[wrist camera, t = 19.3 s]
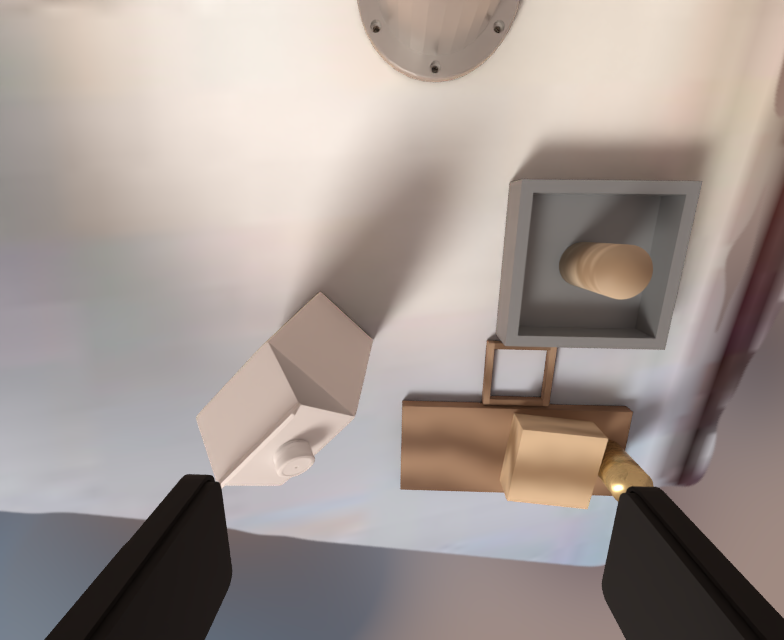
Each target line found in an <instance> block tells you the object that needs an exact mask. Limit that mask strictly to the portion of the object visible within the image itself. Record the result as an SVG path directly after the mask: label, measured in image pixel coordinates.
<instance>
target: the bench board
mask: <svg viewBox="0 0 784 640" xmlns="http://www.w3.org/2000/svg"><path fill="white" fill-rule="evenodd" d="M514 413H516V414H526V415H535V416H544V417H554V418H563V419H573V420H582V421H591V422H594V424H595V425H596V426H597V427H598V428H599V429H600V430H601V431H602V432H603V433H604V434H605V436H606V437H607V438H608V440H612V441H615V442H617V443H618V444H619V445H620V446H621V447H622V448H623V449H624V450H625V448H626V443H627V438H628V434H629V429H630V424H631V419H632V414H633V412H632V411H631V410H630V409H629V408H628V407H626V406H599V405H559V404H549V406H520V405H483V403H479V402H439V401H402V443H401V489H405V490H438V491H471V492H504V491H503V488H502V485H501V482H500V476H501V471H502V467H503V462H504V457H505V453H506V448H507V443H508V439H509V434H510V429H511V425H512V420H513V415H514ZM592 495H603V496H613V495H612V494H611V493H610V491H609V490H608V489H607V487H606V486H605V485H604V483H603V482H602V481H601V479H600V478H599V477H598V475H597V479H596V482H595V486H594V489H593V492H592Z"/></svg>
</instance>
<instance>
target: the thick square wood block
mask: <svg viewBox="0 0 784 640" xmlns="http://www.w3.org/2000/svg"><path fill="white" fill-rule="evenodd" d="M607 442H608V438H607V437H606V436H605V434H604V433H603V432H602V431H601V430H600V429H599V428H598V427H597V426H596V425H595V424H594V422H591V421H582V420H573V419H563V418H554V417H544V416H535V415H526V414H516V413H514V415H513V420H512V425H511V429H510V434H509V439H508V443H507V448H506V453H505V457H504V462H503V467H502V471H501V476H500V482H501V485H502V488H503V491H504V493H505V496H506V499H507V501H515V502H525V503H534V504H544V505H553V506H562V507H572V508H581V509H588V506H589V502H590V499H591V496H592V492H593V489H594V486H595V482H596V479H597V475H598V472H599V469H600V465H601V462H602V459H603V455H604V452H605V449H606V445H607Z"/></svg>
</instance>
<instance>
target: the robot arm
mask: <svg viewBox="0 0 784 640" xmlns="http://www.w3.org/2000/svg"><path fill="white" fill-rule="evenodd" d="M519 1H520V0H357V3H358V8H359V12H360V17H361V20H362V23H363V26H364V29H365V32H366V34H367V36H368V38H369V40H370V41H371V43H372V45H373V47H374V48H375V50H376V51H377V52H378V53H379V55H380V56H381V57H382V58H383V59H384V61H386V62H387V63H388V64H389V65H390V66H392V67H393V68H394V69H395V70H397V71H398V72H400V73H402V74H404V75H406V76H408V77H410V78H414V79H417V80H421V81H427V82H442V81H448V80H453V79H456V78H459V77H461V76H464V75H467V74H468V73H470V72H471V71H473V70H475V69H476V68H478V67H479V66H481V65H482V64H483V63H484V62H485V61H486V60H487V59H488V58H489V57H490V56H491V55H492V54H493V53H494V52H495V50H496V49H497V48H498V46H499V45H500V44H501V43H502V41H503V39H504V38H505V36H506V34H507V33H508V31H509V29H510V27H511V24H512V22H513V20H514V17H515V15H516V13H517V9H518V5H519ZM376 28H378V29H379V30H380V31H379V32H377V33H374V32H373V31H374V29H376ZM494 29H498V30H499V33H496V32H495V31H494ZM433 68H437V70H438V72H437V73H433V72H432V69H433ZM231 578H232V564H231V557H230V549H229V542H228V534H227V527H226V519H225V512H224V504H223V497H222V489H221V484H220V483H219V482H215V480H214V477H213V476H212V475H195V474H187V475H184V476H183V477H182V478H181V479H180V481H179V482H178V483H177V484H176V485H175V487H174V488H173V489H172V490H171V491H170V492H169V494H168V495H167V496H166V497H165V498H164V500H163V501H162V502H161V503H160V504H159V506H158V507H157V508H156V509H155V510H154V512H153V513H152V514H151V515H150V516H149V517H148V519H147V520H146V521H145V522H144V523H143V525H142V526H141V527H140V528H139V530H138V531H137V532H136V533H135V534H134V535H133V537H132V538H131V539H130V540H129V541H128V542H127V543H126V544H125V545H124V546H123V547H122V548H121V549H120V551H119V552H118V553H117V554H116V555H115V557H114V558H113V559H112V560H111V561H110V562H109V564H108V565H107V566H106V567H105V568H104V570H103V571H102V572H101V573H100V574H99V576H98V577H97V578H96V579H95V580H94V581H93V583H92V584H91V585H90V586H89V587H88V589H87V590H86V591H85V592H84V594H82V596H81V597H80V598H79V599H78V601H77V602H76V603H75V604H74V605H73V606H72V608H71V609H70V610H69V611H68V612H67V613H66V615H65V616H64V617H63V618H62V619H61V621H60V622H59V623H58V624H57V625H56V627H55V628H54V629H53V630H52V631H51V632H50V634H49V635H48V636H47V637H46V638H45V640H205V638H206V636H207V634H208V631H209V629H210V627H211V625H212V623H213V621H214V619H215V616H216V614H217V612H218V610H219V608H220V606H221V604H222V601H223V599H224V597H225V595H226V593H227V591H228V588H229V586H230V582H231ZM602 590H603V594H604V597H605V600H606V602H607V604H608V606H609V608H610V610H611V612H612V614H613V616H614V618H615V619H616V621H617V623H618V625H619V627H620V629H621V630H622V633H623V635H624V637H625V638H626V640H784V618H782V616H781V615H780V614H779V613H778V612H777V611H776V610H775V609H774V608H773V607H772V606H771V605H770V604H769V603H768V602H767V601H766V599H765V598H764V597H763V596H762V595H761V594H760V593H759V592H758V591H757V590H756V589H755V588H754V587H753V586H752V585H751V584H750V583H749V581H748V580H747V579H746V578H745V577H744V576H743V575H742V574H741V573H740V572H739V571H738V570H737V569H736V568H735V567H734V566H733V564H732V563H730V561H729V560H728V559H727V558H726V557H725V556H724V555H723V554H722V553H721V552H720V551H719V550H718V549H717V548H716V546H715V545H714V544H713V543H712V542H711V541H710V540H709V539H708V538H707V537H706V536H705V535H704V534H703V533H702V532H701V531H700V530H699V528H698V527H697V526H696V525H695V524H694V523H693V522H692V521H691V520H690V519H689V518H688V517H687V516H686V515H685V514H684V513H683V512H682V510H680V508H679V507H678V506H677V505H676V504H675V503H674V502H673V501H672V500H671V499H670V498H669V497H668V496H667V495H666V494H665V493H664V491H662V490H661V489H660V488H658V487H643V486H631V487H629V488H628V489H627V490H626V493H622V494H621V495H620V497H619V501H618V506H617V511H616V516H615V521H614V526H613V530H612V535H611V540H610V545H609V550H608V555H607V559H606V564H605V569H604V574H603V579H602Z"/></svg>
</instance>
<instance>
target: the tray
mask: <svg viewBox="0 0 784 640" xmlns="http://www.w3.org/2000/svg"><path fill="white" fill-rule="evenodd" d="M701 185H702V181H649V180H564V179H520V180H517V181H514V182H510V184H509V194H508V205H507V216H506V227H505V238H504V249H503V260H502V270H501V281H500V292H499V303H498V314H497V325H496V335H497V336H498V338H499V339H500V340H501V341H502V343H503V344H504V345H505V346H520V347H567V348H613V349H659V350H665V347H666V342H667V338H668V333H669V329H670V324H671V320H672V315H673V311H674V306H675V302H676V297H677V293H678V288H679V284H680V279H681V275H682V270H683V266H684V261H685V257H686V252H687V248H688V243H689V239H690V234H691V230H692V225H693V221H694V216H695V212H696V207H697V203H698V198H699V194H700V189H701ZM579 242H595V243H612V244H628V245H635V246H639V247H641V248H642V249H644V250H645V251H646V252H647V253H648V254H649V256H650V258H651V260H652V264H653V273H652V277H651V280H650V282H649V284H648V285H647V286H646V288H645V289H644V290H643V291H642V292H640V293H639V294H638V295H636V296H634V297H632V298H628V299H614V298H611V297H608V296H604V295H601V294H598V293H595V292H592V291H589V290H586V289H583V288H580V287H577V286H574V285H571V284H569V283H567V282H566V281H565V280H564V279H563V278H562V276H561V274H560V271H559V262H560V258H561V256H562V254H563V253H564V251H565V250H566V249H567V248H568V247H570V246H571V245H573V244H575V243H579Z"/></svg>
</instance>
